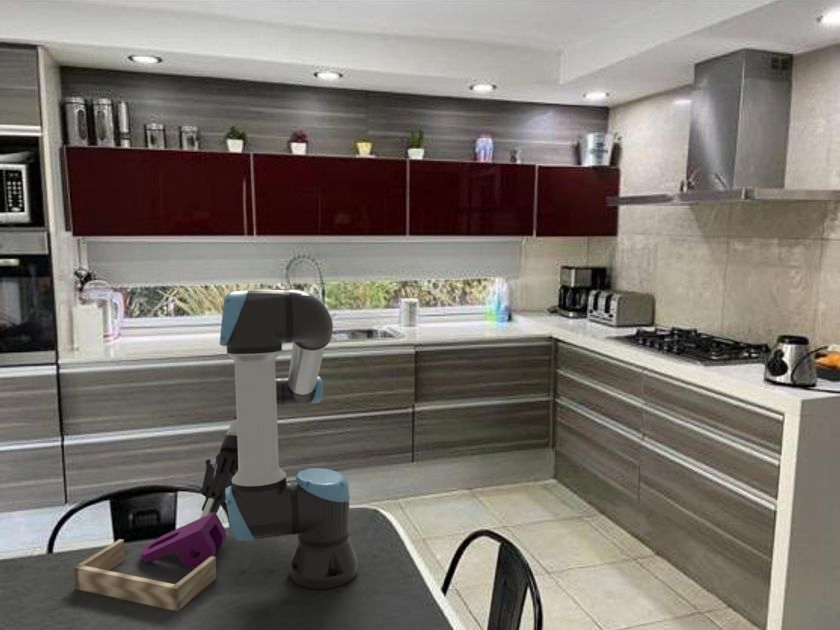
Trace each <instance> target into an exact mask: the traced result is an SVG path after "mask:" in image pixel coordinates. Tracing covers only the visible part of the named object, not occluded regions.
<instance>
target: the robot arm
mask: <svg viewBox="0 0 840 630" xmlns="http://www.w3.org/2000/svg"><path fill="white" fill-rule="evenodd" d="M222 306H223V307H222V316H221V326H220V333H219V334H220V337H219V346H222V347H226V355H227V356H228V357H229V358H230V359H232V360H233V362H234V379H235V380H234V382H235V383H234V384H235V387H234V388H235V407H236V410H235V414H234V417H233V419H232V421H231V423H230V425H229V427H228V429H227V431H226V436H225V437H224V439H223V441H222V443H221V445H220V450H219V453H218V454H216V456H215V458H213V459H209V458H208V459H206V460H205V466H206V468H205V474H204V477H203V483H202V486H201V492H200V493H201V495H202V496H203V497H205V500H204V502H203V505H202V506H201V511H202V513H201V515H200V517H199V519H200V518H202V517H204V516H207V515H209V514H211V513H213V512H216V514H217V513H218V512H219V509H220V507H221V504H222V503H223V502H226V509H227V515H228V521H229V526H230V531H231V534H232V537H233V538H234V539H235V540H237V541H239V542H242V541H243V542H246V541H254V542H256V541H258V540H264V539H266V540H267V539H271V538H278V537H280V538H281V537H286V536H294V535H297V543H296V546H295V548H294V553H293V555H292V557H291V558H292V559H291V562H290V577H291V580H292V581H293V582H294V583H295V584H297V585H298V586H300V587H303V588H306V589H310V590H311V589H312V590H328V589H334V588H337V587H339V586H343V585H345V584H347V583H349V582H351V581H352V580H353V579H354V578H355V576H356V575H357V573H358V558H357V555H356V552H355V549H354V546H353V543H352V540H351V538H350V499H351V496H350V490H349V489H350V488H349V481H348V479H347V477H346V476H344V475H343V474H342V473H340V472H337V471H336V470H332V469H329V468H320V467H319V468H318V467H316V468H314V467H312V468H311V467H310V468H305V469H304V470H303V469H302V470H300V471H298V473H297V474H296V476H295V479H292V480H287V473H286V472H285V470H283V469H282V468H280V465H279V464H280V462H279V435H278V434H279V432H278V407H282V406H284V407H285V406H297V405H298V406H299V405H300V406H301V405H312V404H318V403H320V402H322V400H323V397H324V387H323V381H322V378H321V376H319V373H320V369H321V366H322V365H321V364H322V361H323V355H324V351H325V348H326V347H327V346H328V345H329V344H330V342H331V339H332V337H333V331H334V325H333V324H334V323H333V319H332V316H331V314H330V312H329V310H328V309H327V307H326V305H324V303H322V301H320V299H319V298H317V297H316V296H314V295H313V294H311V293H309V292H307V291H304V290H301V289H273V290H272V289H268V290H265V289H263V290H248V289H246V290H238V291H230V292H229V293H226V294H225V296H224V299H223V305H222ZM287 343H289V344H290V343H292V349H291V358H290V365H289V370H288V377H277V376H276V375H277V374H276V361H277V358H278V356H280V354H282V352H283V344H287ZM276 377H277V378H276Z"/></svg>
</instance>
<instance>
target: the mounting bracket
mask: <svg viewBox="0 0 840 630" xmlns="http://www.w3.org/2000/svg"><path fill="white" fill-rule="evenodd" d="M226 536H227V533H226V529H225V527H224V525H223V523H222V522H221V519H220V518H219V516H218V514H217V513H216V512H213V513H211V514H209V515H207V516H204V517H202V518H200V517H199V518H197V519H196V520H194V521H192V522H189V523H187V524H185V525H183V526H180V527H178V528H176V529H174V530H171V531H168V533H166V534H163V535H161V536H160V537H158V538H156V539H155V540H153V541H151V542H150V543H149V544H147V546H145V547H144V548H143V549H142V550H141V552H140V554H139V555H140V557H141V558H142V560H143V562H144V564H145V563H146V564H147V563H151V562H153V561H157V560H158V559H160V558H163V557H165V556H167V555H169V554H171V553H176V555H177V556H178V558H179V560H180V561H181V563H182V564H183V565H184V566H185V567H186V568H189V567H190V568H189V569H195V568H197V567H198V566H199V565H200V564H202V563H203V562H204V561H205V560H207V559H208V558H209V557H210V556H213V557H215V554H216V552H217V551H218V550H220V549H221V546H222V545H223V544H224V542H225V540H226ZM192 567H193V568H192Z"/></svg>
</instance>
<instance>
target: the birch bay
mask: <svg viewBox="0 0 840 630" xmlns="http://www.w3.org/2000/svg"><path fill="white" fill-rule="evenodd" d="M124 541H125V539H121V538H119V539H117V540H116V541H114V542H112V543H111V544H109V545H108V546H105V548H103V549H101V550H99V551H98V552H96V553H95V554H92V555H91V556H89V557H88V558H87V559H85V560H84V561H81V562H80V563H79V564H77V565H75V566H74V567H73V573H74V574H73V575H74V585H75V590H79V591H84V592H88V593H93V594H97V595H102V596H107V597H111V598H116V599H119V600H125V601H129V602H132V603H138V604H141V605H147V606H151V607H156V608H160V609H164V610H169V609H170V610H169V611H173V610H175V611H174V612H179V610H181V609H182V608H183V607H185V606H186V604H188V603H189V602H190V601H191V600H192V599H194V598H195V597H196V596H197V595H198V594H199V593H201V592H202V591H203V590H204V589H205V588H206V587H207V586H209V585H210V584H211V583H212V582H213V581H215V580H216V579H217V561H216V556H214V557H213V556H210V557H209V558H208V559H207V560H205V561H204V562H203V563H202V564H200V565H199V566H198V567H197V568H193V570H192V571H190V572H189V573H187V574H186V575H185V576H184V577H183V578H181V579H180V580H179V581H178V582H176V583H174V584H173V583H169V582H165V581H160V580H156V579H155V580H154V579H150V578H146V577H141V576H136V575H132V574H131V575H130V574H127V573H121V572H116V571H111V570H112V569H113V568H114V567H116V566H118V565H119V564H121V563H122V562H124V561H126V555H125V552H126V551H125V542H124Z"/></svg>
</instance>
